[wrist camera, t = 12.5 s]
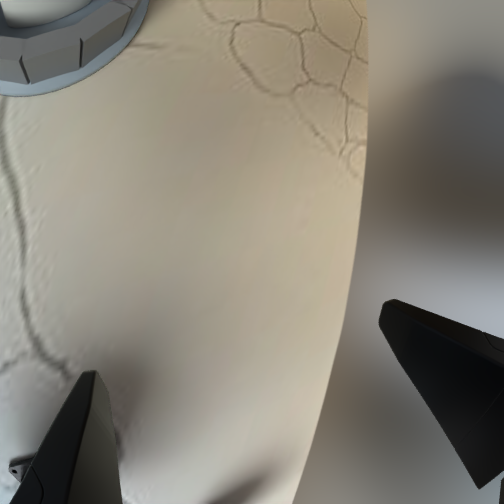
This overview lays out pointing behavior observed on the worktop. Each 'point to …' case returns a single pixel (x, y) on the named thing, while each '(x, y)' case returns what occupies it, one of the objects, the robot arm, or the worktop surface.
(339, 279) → the worktop surface
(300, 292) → the worktop surface
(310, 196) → the worktop surface
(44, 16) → the eye dropper bottle
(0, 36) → the grey segmented round bowl
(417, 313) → the robot arm
